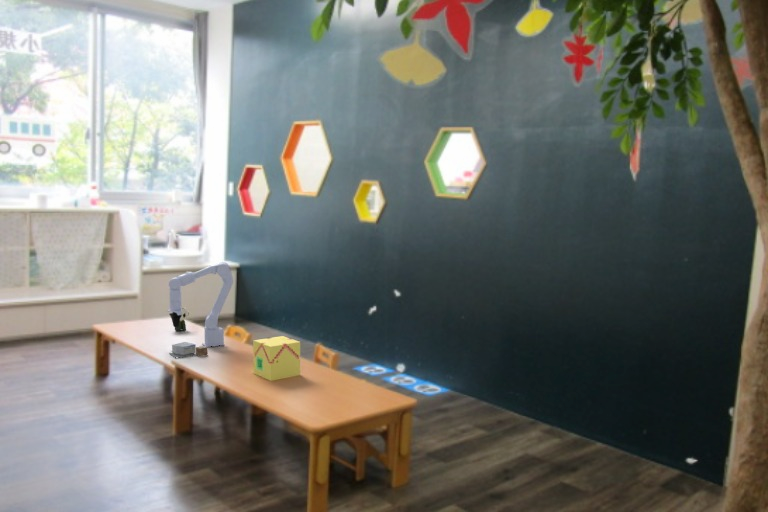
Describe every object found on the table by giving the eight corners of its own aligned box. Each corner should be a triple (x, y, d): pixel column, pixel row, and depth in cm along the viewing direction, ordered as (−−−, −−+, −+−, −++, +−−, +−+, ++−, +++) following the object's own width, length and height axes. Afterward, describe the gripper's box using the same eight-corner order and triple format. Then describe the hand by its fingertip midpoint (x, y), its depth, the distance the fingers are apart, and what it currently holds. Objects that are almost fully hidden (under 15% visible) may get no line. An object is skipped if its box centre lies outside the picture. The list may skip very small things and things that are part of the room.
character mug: (173, 332, 368) (172, 310, 367) (169, 330, 374) (168, 308, 372) (191, 330, 375) (191, 308, 373) (187, 328, 380) (187, 306, 379)
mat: (187, 351, 325) (187, 350, 325) (193, 356, 316) (193, 355, 316) (169, 353, 320) (169, 353, 320) (175, 358, 312) (175, 357, 312)
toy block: (253, 373, 288) (253, 340, 286) (282, 367, 297) (282, 335, 296) (270, 381, 276) (270, 346, 275) (300, 375, 286) (300, 341, 285)
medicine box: (171, 353, 320) (182, 355, 315) (171, 344, 320) (182, 346, 314) (185, 350, 326) (196, 352, 321) (185, 341, 326) (195, 344, 321)
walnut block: (203, 353, 321) (202, 345, 321) (207, 355, 319) (207, 347, 318) (195, 355, 318) (195, 347, 318) (200, 356, 316) (200, 348, 315)
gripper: (163, 299, 337) (164, 325, 338) (171, 303, 325) (172, 330, 327) (177, 298, 341) (177, 323, 342) (185, 302, 329) (186, 328, 330)
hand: (176, 326), depth 335 cm, fingers closed
